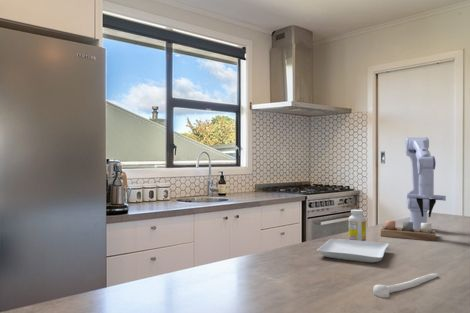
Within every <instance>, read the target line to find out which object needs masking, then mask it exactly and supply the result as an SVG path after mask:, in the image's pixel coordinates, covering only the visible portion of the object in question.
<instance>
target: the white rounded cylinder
mask: <svg viewBox="0 0 470 313" xmlns="http://www.w3.org/2000/svg"><path fill="white" fill-rule="evenodd" d="M431 230H432V223H430V222H427V223H421V232H425V233H431Z"/></svg>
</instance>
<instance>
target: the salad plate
mask: <svg viewBox="0 0 470 313" xmlns="http://www.w3.org/2000/svg"><path fill="white" fill-rule="evenodd" d="M389 246H390V243H387V242H378V241H368V240H366V241H357V240H349V239H343V238H338V239H337V238H330V239H328V240H327V241H326V242H325V243H324V244H322V245H321V246H320V247H318V248H317V249H316V250H317V252H318V254H320V256H321V255H322V256H323V257H326V258H329V259H336V260H344V261H353V262H362V263H371V264H372V263H377V262H380V261H382V260H383V258H384V255H385V252H386V250H387V249H388V248H389Z"/></svg>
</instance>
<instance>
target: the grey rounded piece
mask: <svg viewBox="0 0 470 313" xmlns="http://www.w3.org/2000/svg"><path fill="white" fill-rule="evenodd" d="M402 228H403V230H404V231H413V222H410V221H404V220H403V221H402Z"/></svg>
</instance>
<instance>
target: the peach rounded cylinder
mask: <svg viewBox="0 0 470 313" xmlns="http://www.w3.org/2000/svg"><path fill="white" fill-rule="evenodd" d="M385 226H386V229H388V230H395V227H396V221H395V220H392V219H391V220H390V219H388V220H387V219H385Z"/></svg>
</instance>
